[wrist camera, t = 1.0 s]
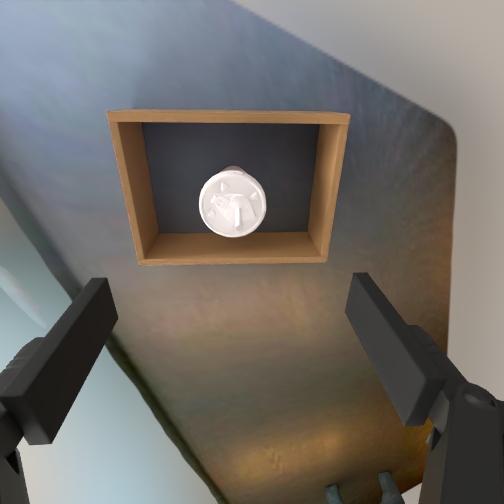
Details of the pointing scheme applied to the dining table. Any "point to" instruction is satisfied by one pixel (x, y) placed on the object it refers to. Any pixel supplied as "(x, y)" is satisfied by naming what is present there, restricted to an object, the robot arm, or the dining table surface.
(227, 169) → the smoothie
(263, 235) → the wooden box
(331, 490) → the dark teal curved piece
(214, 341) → the dining table surface
